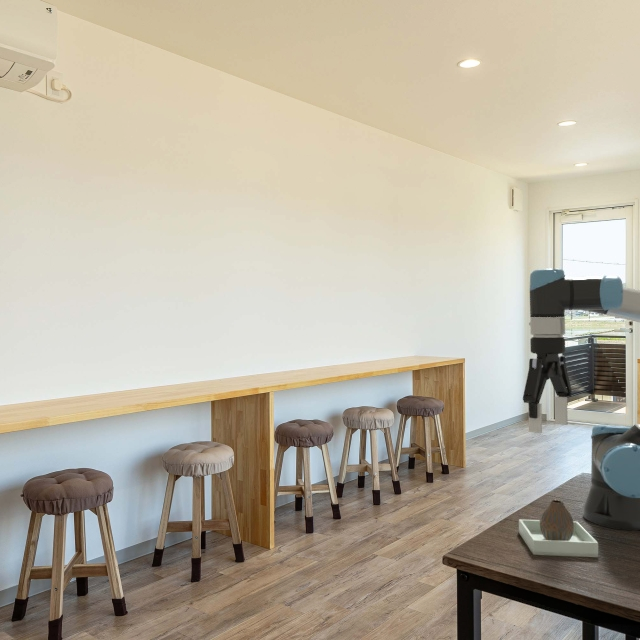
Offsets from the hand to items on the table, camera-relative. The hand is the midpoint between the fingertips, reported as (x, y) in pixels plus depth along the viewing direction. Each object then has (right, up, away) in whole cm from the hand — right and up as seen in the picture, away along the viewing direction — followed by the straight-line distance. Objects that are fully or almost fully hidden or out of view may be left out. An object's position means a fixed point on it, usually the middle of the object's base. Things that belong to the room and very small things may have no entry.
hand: (548, 428), depth 142 cm
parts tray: (-1, -24, -8) cm, 25 cm away
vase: (-1, -24, -8) cm, 25 cm away
